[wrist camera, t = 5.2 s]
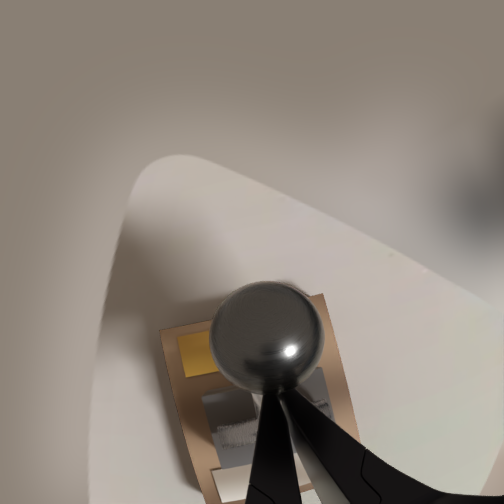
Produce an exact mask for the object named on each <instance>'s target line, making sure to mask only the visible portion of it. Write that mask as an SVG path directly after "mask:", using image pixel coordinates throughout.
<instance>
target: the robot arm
mask: <svg viewBox="0 0 504 504" xmlns="http://www.w3.org/2000/svg"><path fill="white" fill-rule="evenodd" d="M280 396H281V403H282V405H281V403H280V400H279V398H278V395H277V394H274V395H263V396H262V402H261V409H260V416H259V422H258V429H257V435H256V441H255V448H254V454H253V460H252V466H251V472H250V478H249V485H248V489H247V495H246V499H245V504H302V500H301V494H300V489H299V483H298V477H297V471H296V466H295V460H294V454H293V448H292V443H291V438H292V441H293V444H294V447H295V450H296V452H297V454H298V456H299V458H300V461H301V463H302V465H303V467H304V469H305V471H306V473H307V475H308V477H309V479H310V481H311V483H312V485H313V487H314V489H315V491H316V493H317V495H318V497H319V499H320V501H321V503H322V504H504V495H502V496H478V495H463V494H452V493H446V492H441V491H438V490H436V489H433V488H431V487H429V486H427V485H425V484H423V483H421V482H419V481H417V480H415V479H413V478H411V477H410V476H408V475H406V474H404V473H402V472H400V471H399V470H397V469H395V468H394V467H392V466H390V465H389V464H387V463H386V462H384V461H383V460H382V459H380V458H379V457H377V456H376V455H375V454H373V453H372V452H371V451H370V450H368V449H366V447H364V446H363V445H362V444H361V443H359V442H358V441H357V440H356V439H354V438H353V437H352V436H351V435H349V434H348V433H347V432H346V431H345V430H343V429H342V428H341V427H340V426H339V425H337V424H336V423H335V422H334V421H333V420H331V419H330V418H329V417H328V416H327V415H325V414H324V413H323V412H322V411H321V410H320V409H318V408H317V407H316V406H315V405H314V404H313V403H311V402H310V401H309V400H308V399H307V398H306V397H305V396H303V395H302V394H301V393H300V392H299V391H298V390H297V389H296V388H293V389H291V390H289V391H286V392H283V393H280ZM290 435H291V437H290Z"/></svg>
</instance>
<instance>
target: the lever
mask: <svg viewBox="0 0 504 504" xmlns="http://www.w3.org/2000/svg"><path fill="white" fill-rule="evenodd" d="M324 343H325V331H324V326H323V321H322V319H321V316H320V314H319V312H318V310H317V308H316V307H315V305H314V304H313V303H312V302H311V300H310V299H309V298H308V297H307V296H306V295H304V294H303V293H302V292H300V291H299V290H298V289H296V288H294V287H292V286H289V285H287V284H284V283H280V282H274V281H260V282H254V283H251V284H248V285H245V286H243V287H241V288H239V289H237V290H235V291H234V292H232V293H231V294H230V295H229V296H228V297H227V298H226V299H225V300H224V301H223V302H222V303H221V304H220V306H219V307H218V309H217V310H216V312H215V314H214V316H213V319H212V322H211V326H210V330H209V347H210V351H211V355H212V358H213V360H214V363H215V365H216V367H217V368H218V370H219V371H220V373H221V374H222V375H223V376H224V377H225V378H226V379H227V380H228V381H229V382H230V383H232V384H233V385H235V386H236V387H238V388H240V389H242V390H244V391H246V392H250V393H251V394H252V398H253V403H254V407H255V412H256V416H257V417H256V418H252V419H247V420H243V421H238V422H233V423H229V424H223V425H218V426H217V431H218V436H219V440H220V443H221V446H222V448H223V450H225V449H230V448H235V447H240V446H245V445H250V444H254V443H255V441H256V435H257V429H258V422H259V416H260V409H261V402H262V396H263V395H274V394H277V395H278V398H279V400H280V403H281V396H280V393H283V392H286V391H289V390H291V389H293V388H295V387H297V386H299V385H300V384H301V383H303V382H304V381H305V380H306V379H307V378H308V377H309V376H310V375H311V374H312V373H313V372H314V370H315V369H316V367H317V365H318V364H319V362H320V359H321V357H322V353H323V350H324ZM312 403H313V404H314V405H315V406H316V407H317V408H318V409H320V410H321V411H322V412H323V413H324V414H325V415H327V416H328V417H329V418H330V419H331V420H332V415H331V410H330V407H329V405H328V403H327V401H326V400H325V399H321V400H318V401H315V402H312ZM281 405H282V403H281Z"/></svg>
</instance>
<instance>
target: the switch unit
mask: <svg viewBox="0 0 504 504" xmlns="http://www.w3.org/2000/svg"><path fill="white" fill-rule="evenodd" d="M308 298H309V299H310V300H311V302H312V303H313V304H314V305H315V307H316V308H317V310H318V312H319V314H320V316H321V319H322V321H323V326H324V331H325V343H324V350H323V353H322V357H321V359H320V362H319V364H318V365H317V367H316V369H315V370H314V372H313V373H312V374H311V375H310V376H309V377H308V378H307V379H306V380H305V381H304V382H303V383H301V384H300V385H299V386H297V387H295V388H296V389H297V390H298V391H299V392H300V393H301V394H302V395H303V396H305V397H306V398H307V399H308V400H309V401H310V402H311V403H312V402H315V401H318V400H321V399H325V400H326V401H327V403H328V405H329V407H330V410H331V415H332V420H333V421H334V422H335V423H336V424H337V425H339V426H340V427H341V428H342V429H343V430H345V431H346V432H347V433H348V434H349V435H351V436H352V437H353V438H354V439H356V440H357V441H358V442H359V443H361V442H360V437H359V433H358V428H357V424H356V419H355V415H354V411H353V406H352V402H351V398H350V394H349V389H348V385H347V381H346V377H345V373H344V369H343V365H342V361H341V358H340V354H339V350H338V346H337V342H336V339H335V335H334V331H333V327H332V324H331V320H330V317H329V313H328V309H327V306H326V302H325V299H324V295H323V293H322V294H318V295H315V296H311V297H308ZM211 322H212V320H209V321H204V322H199V323H194V324H189V325H184V326H179V327H174V328H169V329H164V330H159V331H160V336H161V341H162V346H163V351H164V356H165V361H166V365H167V370H168V374H169V379H170V383H171V387H172V391H173V395H174V399H175V403H176V407H177V411H178V415H179V419H180V422H181V426H182V430H183V433H184V437H185V440H186V444H187V447H188V450H189V454H190V457H191V460H192V463H193V466H194V470H195V473H196V476H197V479H198V482H199V485H200V488H201V491H202V494H203V496H204V499H205V502H206V504H245V499H246V495H247V489H248V485H249V478H250V472H251V466H252V460H253V454H254V448H255V443H254V444H250V445H245V446H240V447H235V448H230V449H225V450H223V448H222V446H221V443H220V440H219V436H218V431H217V426H218V425H223V424H229V423H233V422H238V421H243V420H247V419H252V418H256V417H257V416H256V412H255V407H254V403H253V398H252V394H251V393H250V392H246V391H244V390H242V389H240V388H238V387H236V386H235V385H233V384H232V383H230V382H229V381H228V380H227V379H226V378H225V377H224V376H223V375H222V374H221V373H220V371H219V370H218V368H217V367H216V365H215V363H214V360H213V358H212V355H211V351H210V347H209V330H210V326H211ZM290 437H291V435H290ZM291 443H292V448H293V454H294V460H295V466H296V471H297V477H298V483H299V489H300V493H301V492H305V491H308V490H311V489H314V487H313V485H312V483H311V481H310V479H309V477H308V475H307V473H306V471H305V469H304V467H303V465H302V463H301V461H300V458H299V456H298V454H297V452H296V450H295V447H294V444H293V441H292V438H291Z"/></svg>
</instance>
